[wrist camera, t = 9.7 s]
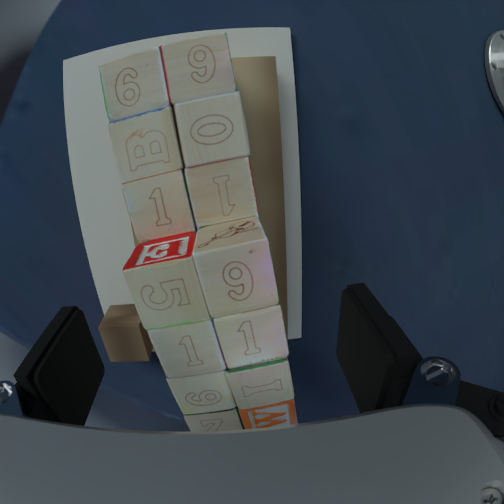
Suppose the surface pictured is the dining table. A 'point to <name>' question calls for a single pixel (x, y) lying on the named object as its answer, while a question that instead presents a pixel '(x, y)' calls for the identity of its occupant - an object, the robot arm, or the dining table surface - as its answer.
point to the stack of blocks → (198, 234)
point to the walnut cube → (125, 334)
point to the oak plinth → (265, 157)
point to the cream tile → (106, 172)
